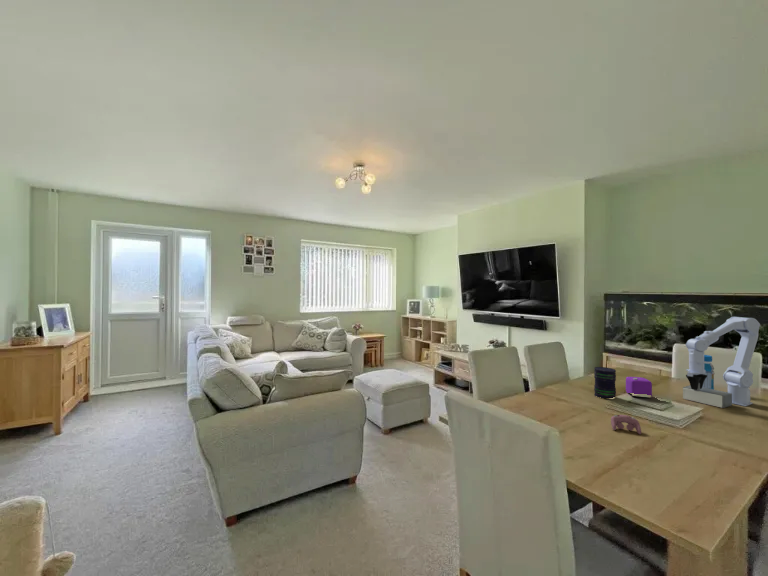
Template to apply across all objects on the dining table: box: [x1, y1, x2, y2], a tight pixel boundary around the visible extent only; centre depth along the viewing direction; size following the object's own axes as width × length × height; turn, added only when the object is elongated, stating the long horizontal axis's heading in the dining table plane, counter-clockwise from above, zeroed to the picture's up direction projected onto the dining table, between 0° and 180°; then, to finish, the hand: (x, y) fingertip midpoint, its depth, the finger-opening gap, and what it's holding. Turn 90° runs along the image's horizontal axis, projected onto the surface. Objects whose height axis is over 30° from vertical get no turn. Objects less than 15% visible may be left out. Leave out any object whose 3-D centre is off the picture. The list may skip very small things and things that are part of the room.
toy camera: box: [625, 376, 653, 396], centre depth 181 cm, size 11×14×10 cm
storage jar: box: [593, 366, 617, 399], centre depth 178 cm, size 10×10×15 cm
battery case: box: [682, 384, 733, 409], centre depth 171 cm, size 9×16×6 cm, turn 26°
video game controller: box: [610, 414, 642, 435], centre depth 135 cm, size 10×5×7 cm, turn 65°
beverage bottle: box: [702, 354, 715, 390], centre depth 191 cm, size 8×8×20 cm
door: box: [682, 383, 725, 409], centre depth 168 cm, size 2×16×10 cm, turn 26°
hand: (696, 388), depth 170 cm, fingers open, 4 cm apart
